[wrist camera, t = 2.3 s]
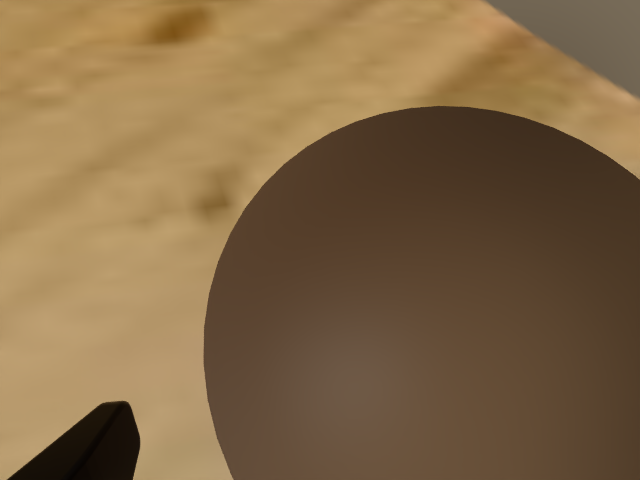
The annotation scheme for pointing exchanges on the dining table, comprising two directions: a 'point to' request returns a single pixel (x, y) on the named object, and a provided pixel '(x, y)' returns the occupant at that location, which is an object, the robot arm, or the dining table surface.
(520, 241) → the handle
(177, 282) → the dining table surface
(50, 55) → the dining table surface
